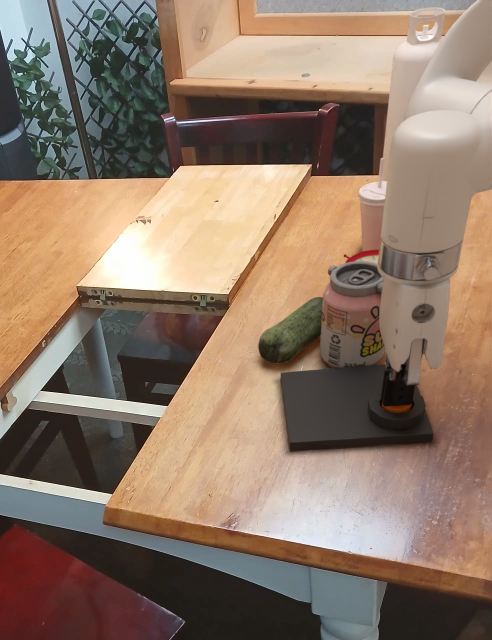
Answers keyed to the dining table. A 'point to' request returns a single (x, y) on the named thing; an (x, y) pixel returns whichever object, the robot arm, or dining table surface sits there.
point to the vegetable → (292, 333)
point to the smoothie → (372, 211)
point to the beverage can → (352, 316)
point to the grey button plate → (347, 410)
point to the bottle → (410, 70)
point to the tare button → (397, 408)
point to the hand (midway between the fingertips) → (396, 401)
